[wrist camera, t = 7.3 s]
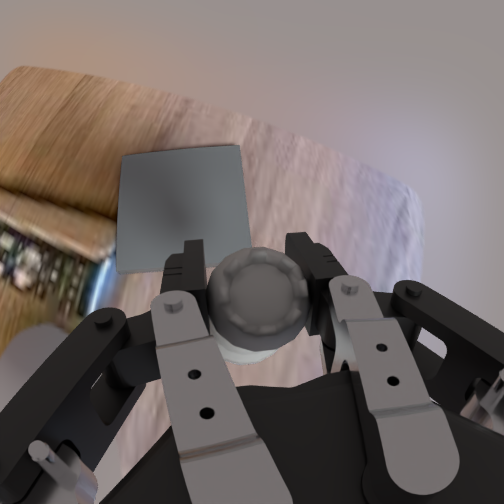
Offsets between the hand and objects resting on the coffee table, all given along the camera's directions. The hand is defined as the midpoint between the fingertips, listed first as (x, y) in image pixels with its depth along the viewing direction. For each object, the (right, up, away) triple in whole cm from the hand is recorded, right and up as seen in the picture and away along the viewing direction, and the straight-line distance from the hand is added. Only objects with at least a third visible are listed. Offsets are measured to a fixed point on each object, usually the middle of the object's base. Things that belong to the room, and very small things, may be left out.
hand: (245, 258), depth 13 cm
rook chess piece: (0, -3, +4) cm, 5 cm away
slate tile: (-6, +4, +17) cm, 19 cm away
